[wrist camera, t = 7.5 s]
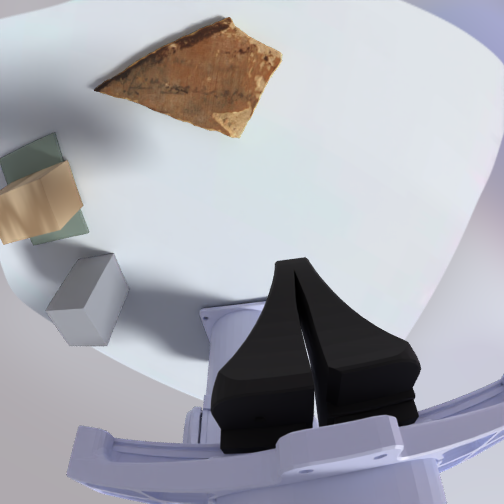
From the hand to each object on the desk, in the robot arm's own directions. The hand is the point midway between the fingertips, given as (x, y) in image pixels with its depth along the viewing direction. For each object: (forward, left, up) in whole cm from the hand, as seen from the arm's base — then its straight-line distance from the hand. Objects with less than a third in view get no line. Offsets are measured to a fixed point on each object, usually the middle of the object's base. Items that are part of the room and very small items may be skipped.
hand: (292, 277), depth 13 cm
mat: (+4, +19, -10) cm, 22 cm away
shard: (+8, +4, -11) cm, 14 cm away
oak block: (+4, +15, -8) cm, 17 cm away
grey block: (-5, +16, -11) cm, 20 cm away
